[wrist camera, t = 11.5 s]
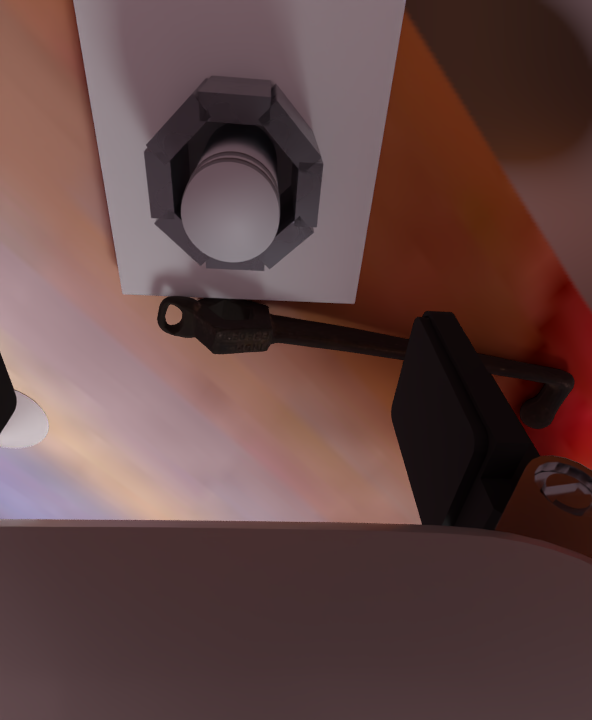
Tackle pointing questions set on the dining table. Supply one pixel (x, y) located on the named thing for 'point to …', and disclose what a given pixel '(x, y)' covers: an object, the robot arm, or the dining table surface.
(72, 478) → the dining table surface
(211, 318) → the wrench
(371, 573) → the robot arm
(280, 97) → the steel ring
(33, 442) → the champagne flute
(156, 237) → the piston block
